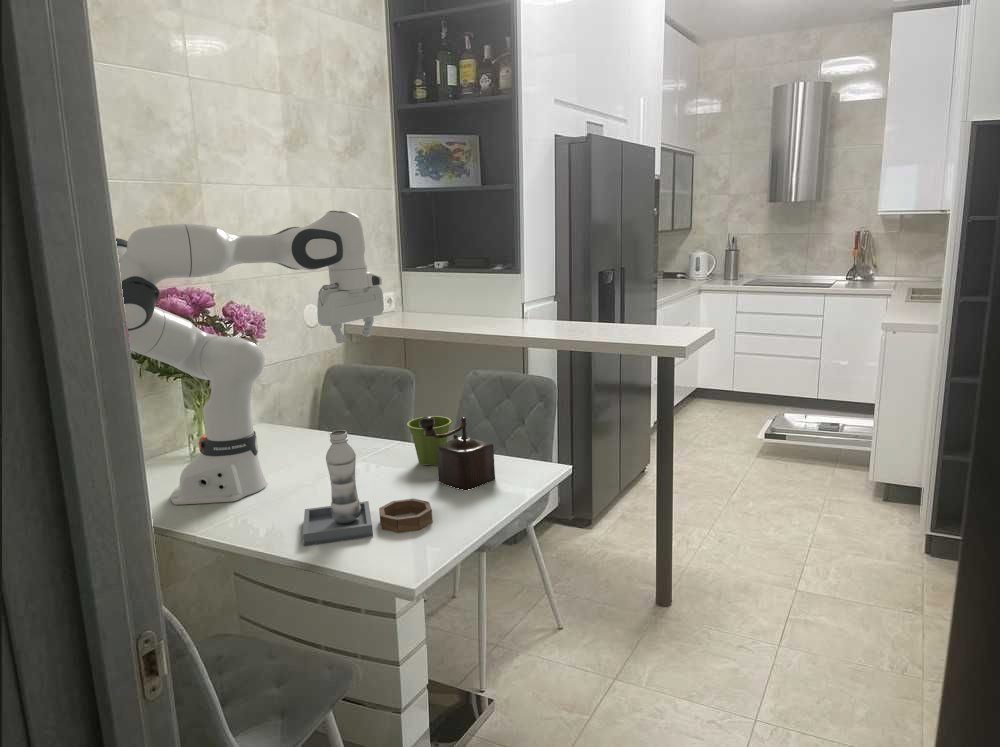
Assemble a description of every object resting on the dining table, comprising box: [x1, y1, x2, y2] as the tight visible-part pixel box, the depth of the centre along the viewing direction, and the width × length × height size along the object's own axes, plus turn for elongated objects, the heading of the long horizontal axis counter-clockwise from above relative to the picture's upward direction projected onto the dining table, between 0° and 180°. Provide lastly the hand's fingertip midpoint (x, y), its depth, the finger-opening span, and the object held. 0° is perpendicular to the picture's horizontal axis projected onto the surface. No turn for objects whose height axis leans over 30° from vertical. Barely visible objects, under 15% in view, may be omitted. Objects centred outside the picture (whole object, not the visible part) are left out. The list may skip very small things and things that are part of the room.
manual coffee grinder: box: [419, 415, 496, 491], centre depth 182 cm, size 16×11×18 cm
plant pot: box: [406, 415, 452, 466], centre depth 200 cm, size 12×12×11 cm
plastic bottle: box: [325, 429, 361, 523], centre depth 160 cm, size 6×7×20 cm
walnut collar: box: [378, 498, 434, 534], centre depth 162 cm, size 11×11×3 cm
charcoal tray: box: [302, 500, 374, 547], centre depth 160 cm, size 14×14×3 cm
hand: (354, 339), depth 177 cm, fingers open, 8 cm apart
